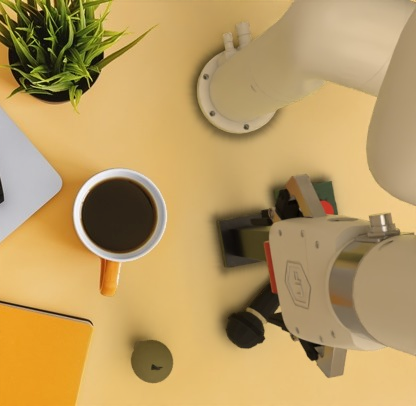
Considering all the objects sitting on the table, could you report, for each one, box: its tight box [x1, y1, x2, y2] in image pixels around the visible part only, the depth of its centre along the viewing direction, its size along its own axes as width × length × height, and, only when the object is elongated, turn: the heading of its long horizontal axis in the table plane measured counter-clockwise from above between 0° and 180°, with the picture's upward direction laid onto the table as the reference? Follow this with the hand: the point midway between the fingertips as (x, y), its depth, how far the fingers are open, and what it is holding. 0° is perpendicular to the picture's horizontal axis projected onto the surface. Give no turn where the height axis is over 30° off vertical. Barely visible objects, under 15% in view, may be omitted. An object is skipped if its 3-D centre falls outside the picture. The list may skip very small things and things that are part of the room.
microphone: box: [225, 282, 280, 350], centre depth 80 cm, size 6×6×20 cm
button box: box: [273, 180, 339, 215], centre depth 81 cm, size 8×8×4 cm
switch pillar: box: [216, 212, 271, 268], centre depth 69 cm, size 7×7×26 cm
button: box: [320, 201, 334, 215], centre depth 78 cm, size 3×3×2 cm
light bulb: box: [130, 339, 174, 384], centre depth 75 cm, size 6×6×10 cm
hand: (273, 267), depth 54 cm, fingers open, 9 cm apart
